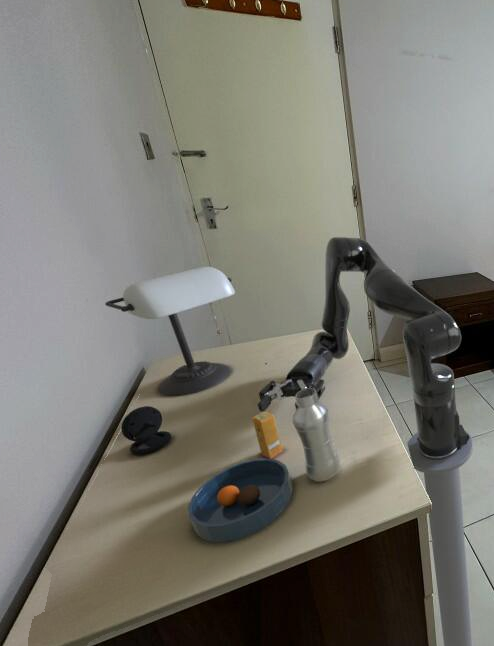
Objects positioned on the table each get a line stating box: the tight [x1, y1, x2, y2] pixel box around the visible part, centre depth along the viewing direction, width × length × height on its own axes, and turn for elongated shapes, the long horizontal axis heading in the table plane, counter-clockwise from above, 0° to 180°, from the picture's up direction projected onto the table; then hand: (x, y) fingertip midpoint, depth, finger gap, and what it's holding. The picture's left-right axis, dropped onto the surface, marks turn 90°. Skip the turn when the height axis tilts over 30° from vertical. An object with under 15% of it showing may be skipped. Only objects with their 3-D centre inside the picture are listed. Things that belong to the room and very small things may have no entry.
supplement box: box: [252, 410, 284, 459], centre depth 88 cm, size 3×3×10 cm
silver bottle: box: [292, 388, 341, 483], centre depth 79 cm, size 6×7×20 cm
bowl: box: [187, 457, 293, 544], centre depth 75 cm, size 16×16×4 cm
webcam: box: [120, 405, 172, 456], centre depth 91 cm, size 8×8×10 cm
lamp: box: [105, 266, 236, 397], centre depth 112 cm, size 26×24×34 cm
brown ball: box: [238, 485, 260, 506], centre depth 75 cm, size 4×4×4 cm
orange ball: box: [217, 485, 239, 506], centre depth 75 cm, size 4×4×4 cm
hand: (279, 408), depth 92 cm, fingers open, 8 cm apart
